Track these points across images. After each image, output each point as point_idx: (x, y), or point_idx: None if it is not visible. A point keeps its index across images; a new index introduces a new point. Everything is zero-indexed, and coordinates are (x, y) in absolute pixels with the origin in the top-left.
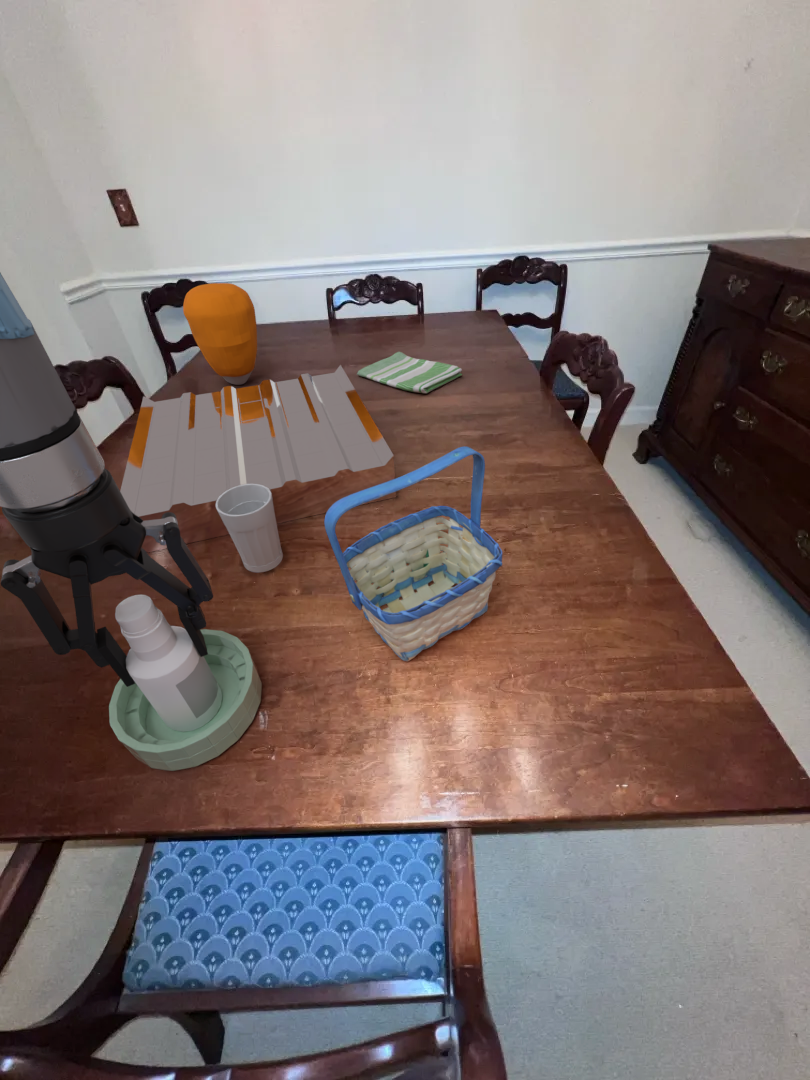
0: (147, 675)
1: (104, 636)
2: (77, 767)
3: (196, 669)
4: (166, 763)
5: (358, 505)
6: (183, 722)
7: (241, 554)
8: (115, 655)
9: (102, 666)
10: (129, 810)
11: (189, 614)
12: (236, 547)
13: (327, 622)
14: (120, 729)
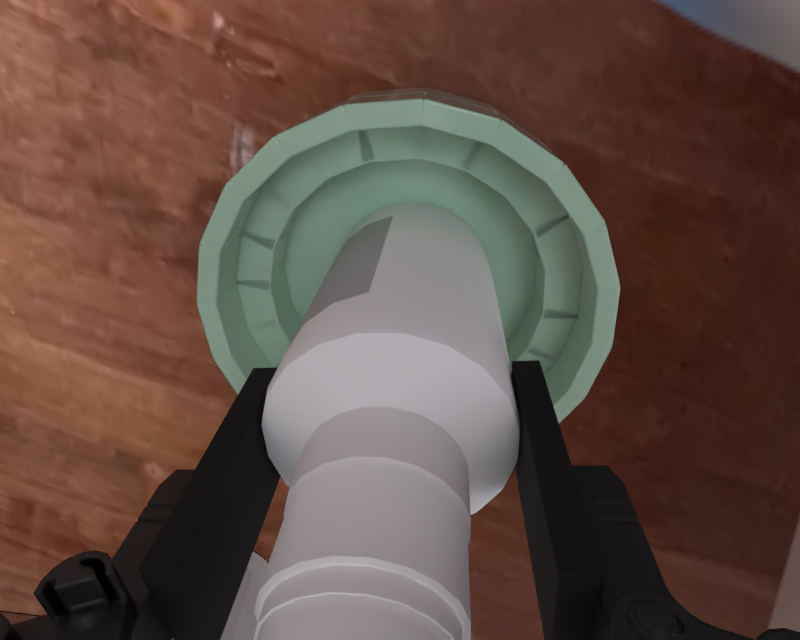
0: (438, 357)
1: (560, 624)
2: (714, 236)
3: (300, 328)
4: (492, 109)
5: (9, 613)
6: (428, 217)
7: (252, 610)
8: (537, 497)
9: (602, 469)
10: (618, 43)
11: (90, 580)
12: (252, 635)
13: (73, 362)
14: (594, 255)
